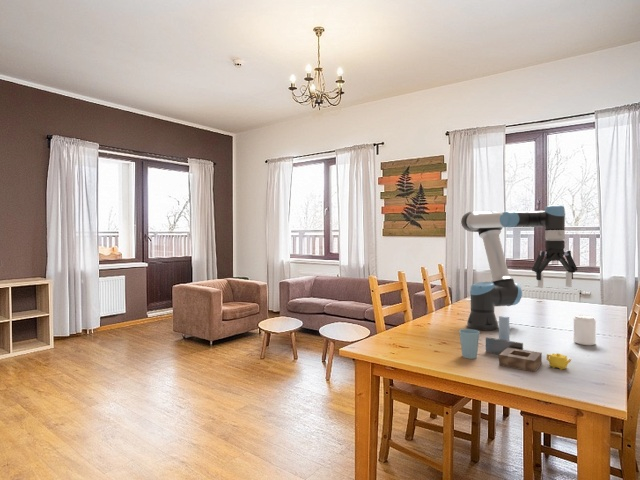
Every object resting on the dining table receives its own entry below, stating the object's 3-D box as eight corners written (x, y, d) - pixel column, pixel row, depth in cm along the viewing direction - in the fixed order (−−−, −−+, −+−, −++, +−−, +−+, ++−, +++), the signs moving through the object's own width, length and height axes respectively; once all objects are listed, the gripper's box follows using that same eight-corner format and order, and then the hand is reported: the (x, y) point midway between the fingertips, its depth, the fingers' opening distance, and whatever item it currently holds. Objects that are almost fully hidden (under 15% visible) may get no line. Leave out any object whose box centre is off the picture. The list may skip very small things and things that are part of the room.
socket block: (499, 365, 148) (499, 354, 148) (507, 357, 157) (507, 347, 157) (534, 371, 141) (534, 360, 141) (541, 363, 150) (541, 352, 150)
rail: (485, 352, 164) (485, 337, 164) (486, 351, 165) (486, 337, 165) (522, 358, 155) (522, 343, 155) (523, 357, 156) (523, 342, 156)
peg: (497, 349, 167) (497, 317, 167) (500, 347, 171) (500, 315, 170) (508, 351, 165) (507, 318, 165) (510, 349, 168) (510, 316, 168)
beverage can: (585, 346, 170) (585, 319, 170) (569, 341, 178) (569, 315, 178) (600, 345, 172) (600, 317, 172) (583, 340, 180) (583, 314, 180)
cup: (457, 353, 163) (456, 328, 163) (475, 353, 162) (475, 328, 162) (462, 359, 155) (462, 333, 155) (482, 359, 155) (482, 333, 154)
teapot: (574, 368, 144) (574, 354, 144) (569, 372, 140) (569, 357, 140) (549, 363, 150) (549, 349, 150) (545, 366, 146) (544, 353, 146)
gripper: (534, 240, 171) (534, 289, 172) (587, 239, 174) (586, 287, 174) (523, 240, 179) (523, 286, 179) (574, 239, 181) (574, 285, 182)
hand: (554, 287), depth 177 cm, fingers open, 13 cm apart
